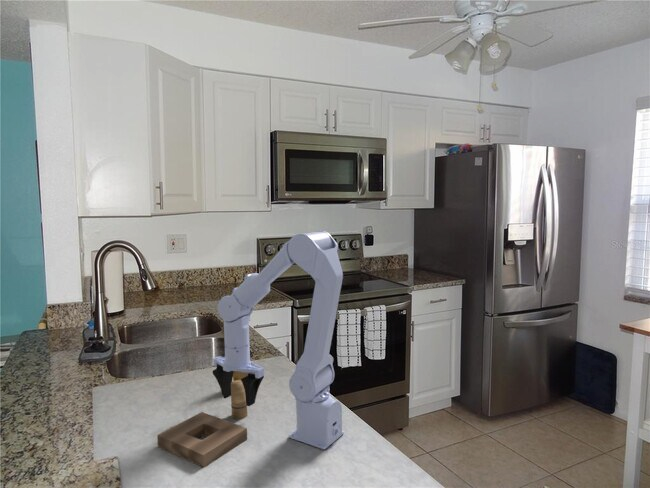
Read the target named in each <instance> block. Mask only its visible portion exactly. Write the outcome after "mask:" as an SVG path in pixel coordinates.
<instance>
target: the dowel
mask: <svg viewBox="0 0 650 488" xmlns="http://www.w3.org/2000/svg"><path fill="white" fill-rule="evenodd" d="M230 400H231V406H230V407H231V418H232V419H234V420H241V419H245V418H246V417H248V406H247V404H246V396H245V389H244V386H243V383H242V381H241V380H236V381H234V380H232V382H231V396H230Z"/></svg>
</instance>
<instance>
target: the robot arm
mask: <svg viewBox="0 0 650 488" xmlns="http://www.w3.org/2000/svg"><path fill="white" fill-rule="evenodd" d="M289 239H290V240H288V241H286V242H285V243H283V245H282V248H281V249H280V250H279V251H278V252H277V253H276V254H275V256H273V257H272V259H271V260H270V261H268V263H267V264H266V265H265V266H264V267H263V269H262V270H261V271H260V272H259V273H257V272H253V273H249V274H245V276H244V277H243V279H244V281H243V282H241V284H240V285H238V287H234V288H233V289H232V293H231V295H225V296H222V297H221V299H220V300H219V302H218V304H217V312H218V316H220V318H221V319H222V320H223V333H224V335H223V336H224V356H221V355H219V356H216V357H214V358H212V360H213V361H212V363H213V364H212V365H213V367H215V369H213V370H212V375H213V376H214V377H215V379H216V381H217V384H218V385H219V387H220V391H221V392H220V393H221V394H222V398H223V399H227V398H230V397H231V382H233V372H234V371H238V372H242V373H245V374H248V376H246V377H244V378H242V379H241V381H242V383H243V386H244V389H245V396H246V404H247V407H251V406H253V405H254V404H256V398H257V395H258V391H259V389H260V386H261V383H262V382H263V379H264V378H265V369H264V367H263V366H260V365H258V364H256V363H254V362H253V361H252V360H251V355H250V354H251V352H250V351H251V350H250V349H251V347H250V321H251V315H252V313H253V311H254V309H255V306H256V305H257V304H259V302H260V301H262V300H263V299H264V298H265V297H266V296H267V295H268V294H269V293H270V292H271V284H272V283H273V282H274V281H275V280H276V279H278V278H279V277H280V276H281V275H282V274H284V273H285V271H287V270H288V269H289V268H291V267H292V266H293V265H294V264H296V265H297V266H298V267H300V269H302V270H304V272H306V273H307V274H309V275H310V276H311V278H312V279H313V280H314V282H315V284H314V289H313V294H312V302H311V306H310V313H309V320H308V326H307V330H306V337H305V342H304V349H303V353H302V354H301V356H300V357H299V360H298V362H297V363H296V364H295V370H294V372H293V374H291V376H290V378H289V384H288V386H289V389H290V392H291V394H292V395H293V396H294V399H295V405H296V407H295V408H296V429H294V430H293V431H292V432H291V433H289V434H288V438H290V439H293V440H296V441H299V442H302V443H304V444H307V445H308V446H309V445H310V446H313V447H315V448H319V449H321V450H326V449H327V448H329V447H330V445H332V444H333V443H334V442H335V441H337V440H338V439H339V438H340V437H341V436H342V435H344V434H345V431H344V430H343V417H342V416H343V415H342V414H343V412H342V411H343V409H342V408H343V407H342V405H341V402H340V401H338V400H337V399H335V398H333V397H332V396H331V395H330V385H331V384H332V383H333V382H334V379H335V370H334V365H333V363H334V357H333V356H332V355H331V354H330V350H331V346H332V340H333V335H334V330H335V329H334V328H335V323H336V317H337V312H338V306H339V302H340V297H341V290H342V285H343V279H344V273H343V269H342V266H341V262H340V261H341V260H340V258H339V257H340V256H339V254H338V251H339V250H338V247H339V244H338V243H337V241H336V240H335V239H334V237H332V235H331V234H330V233H329V232H327V231H324V230H318V231H313V232H308V233H297V234H295V235H293V236H291V238H289Z"/></svg>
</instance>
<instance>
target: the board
mask: <svg viewBox="0 0 650 488" xmlns="http://www.w3.org/2000/svg"><path fill="white" fill-rule="evenodd" d="M204 435H205V436H206V437H205V438H203V439H200V437H202V436H204ZM156 440H157V447H159V448H160V449H162V450H165V451H168V452H169V453H171V454H174V455H176V456H178V457H180V458H182V459H185V460H187V461H189V462H191V463H193V464H196V465H197V466H199V467H203V468H205V467H207V466H208V465H210V464H212V463H213V462H214V461H217V460H218V459H219V458H221V457H222V456H224V455H226V454H227V453H228V452H230V451H231V450H234V449H235V448H236V447H238V446H240V445H241V444H242V443H244V442H246V441H247V440H248V428H247V427H245V426H242V425H239V424H237V423H234V422H231V421H228V420H225V419H223V418H220V417H217V416H214V415H212V414H208V413H206V412H203V411H201V412H199V413H197V414H195V415H193V416H192V417H189V418H187V419H186V420H184V421H182V422H180V423H178V424H175V425H174V426H172V427H170V428H168V429H166V430H164V431H162V432H160V433H158V434H157V439H156Z"/></svg>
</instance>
